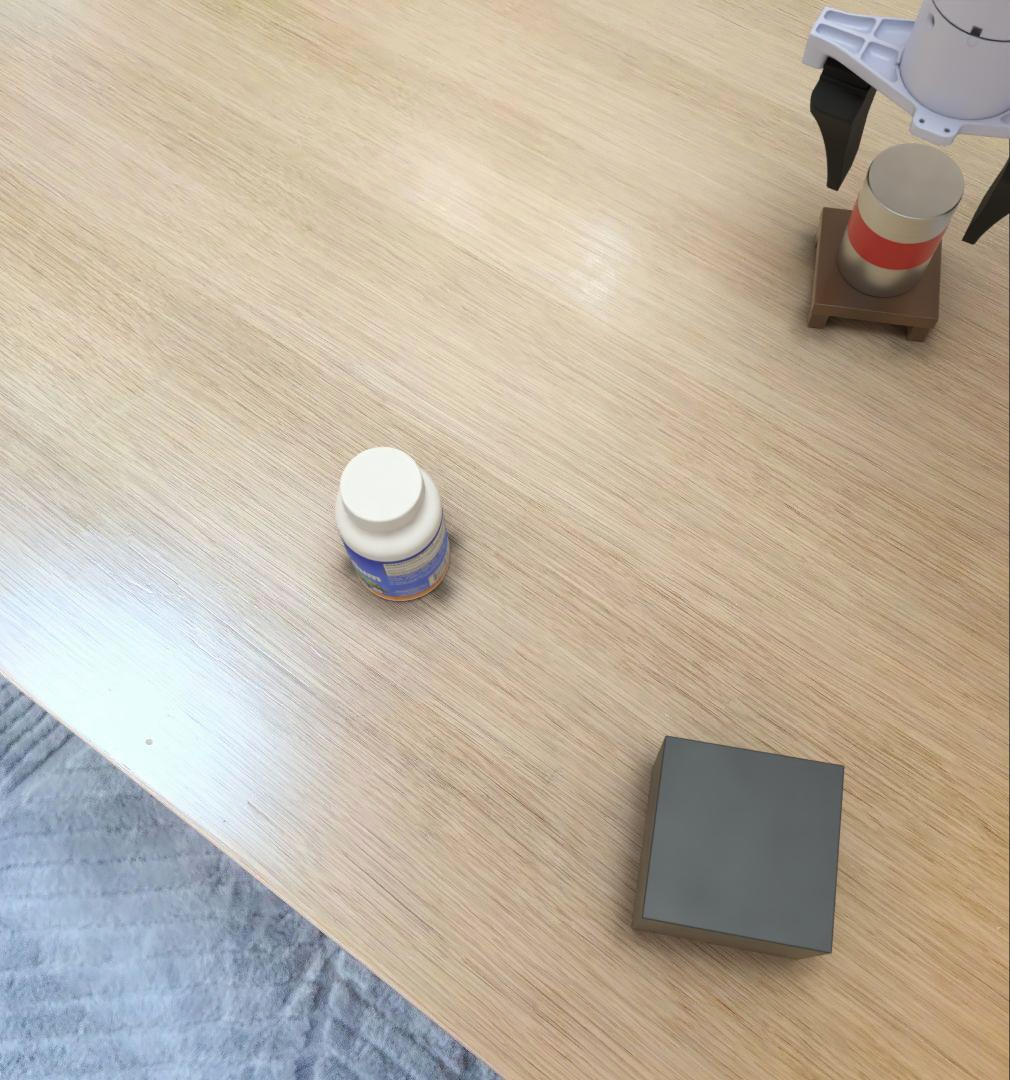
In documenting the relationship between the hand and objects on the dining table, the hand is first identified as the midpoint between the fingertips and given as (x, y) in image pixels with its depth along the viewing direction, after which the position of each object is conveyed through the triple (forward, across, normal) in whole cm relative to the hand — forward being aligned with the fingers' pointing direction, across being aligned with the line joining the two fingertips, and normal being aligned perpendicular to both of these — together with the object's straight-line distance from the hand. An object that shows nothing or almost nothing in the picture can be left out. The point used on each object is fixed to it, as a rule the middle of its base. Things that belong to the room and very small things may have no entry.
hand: (905, 202), depth 60 cm
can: (+5, 0, 0) cm, 5 cm away
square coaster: (+8, +6, -34) cm, 36 cm away
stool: (+8, 0, 0) cm, 8 cm away
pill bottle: (+8, -16, -28) cm, 33 cm away
